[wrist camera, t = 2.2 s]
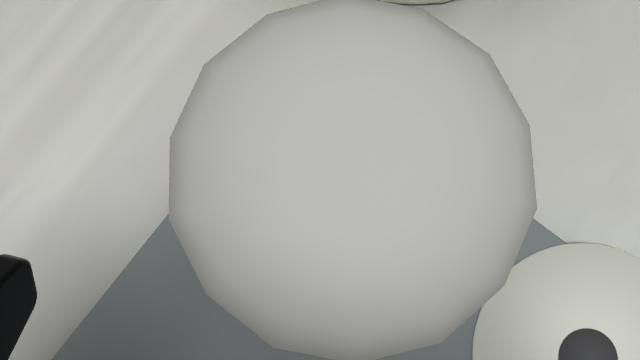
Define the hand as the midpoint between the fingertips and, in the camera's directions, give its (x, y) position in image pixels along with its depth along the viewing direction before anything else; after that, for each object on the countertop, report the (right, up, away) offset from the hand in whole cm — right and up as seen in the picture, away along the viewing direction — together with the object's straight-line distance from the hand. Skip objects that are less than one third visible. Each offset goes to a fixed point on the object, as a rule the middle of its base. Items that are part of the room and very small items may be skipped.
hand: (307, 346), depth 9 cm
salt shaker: (+1, +1, +10) cm, 10 cm away
